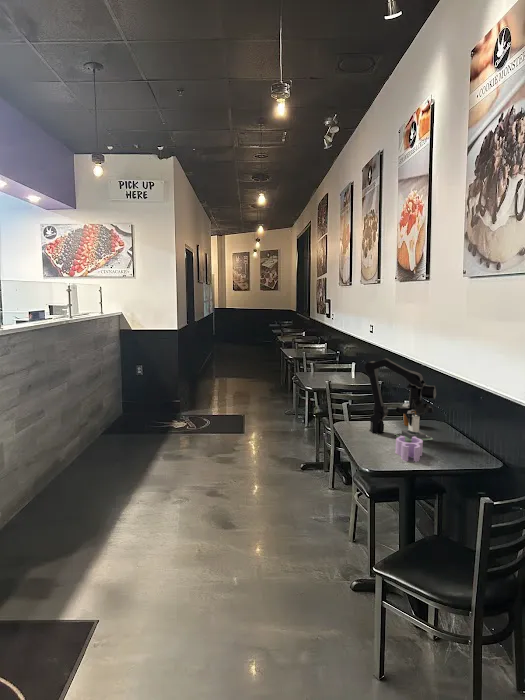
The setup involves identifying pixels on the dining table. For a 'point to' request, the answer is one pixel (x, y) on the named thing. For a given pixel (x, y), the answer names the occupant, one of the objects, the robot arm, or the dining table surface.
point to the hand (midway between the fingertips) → (413, 425)
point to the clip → (409, 448)
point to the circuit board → (411, 439)
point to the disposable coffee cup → (405, 415)
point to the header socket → (413, 434)
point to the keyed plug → (414, 423)
